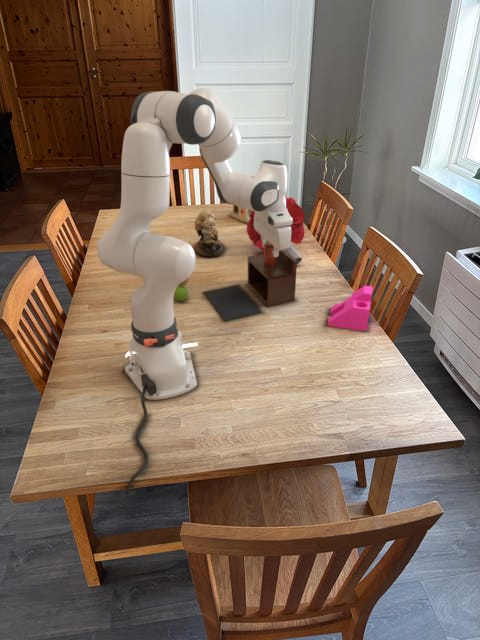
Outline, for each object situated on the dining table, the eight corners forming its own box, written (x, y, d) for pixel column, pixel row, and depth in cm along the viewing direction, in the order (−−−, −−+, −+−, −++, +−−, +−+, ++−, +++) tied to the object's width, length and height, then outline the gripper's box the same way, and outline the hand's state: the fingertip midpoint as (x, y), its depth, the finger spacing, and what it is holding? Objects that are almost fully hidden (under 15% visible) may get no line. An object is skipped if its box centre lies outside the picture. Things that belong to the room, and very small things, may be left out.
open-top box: (294, 300, 169) (297, 261, 161) (268, 306, 166) (269, 266, 158) (272, 279, 182) (273, 241, 174) (247, 284, 179) (247, 246, 171)
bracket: (368, 314, 162) (372, 286, 156) (366, 331, 153) (371, 302, 148) (331, 309, 164) (334, 281, 159) (327, 325, 156) (330, 297, 151)
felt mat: (261, 312, 163) (261, 311, 162) (225, 321, 158) (225, 320, 158) (237, 285, 178) (237, 284, 178) (203, 292, 174) (203, 291, 174)
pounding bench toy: (283, 222, 230) (285, 184, 220) (260, 229, 222) (261, 190, 212) (251, 208, 245) (251, 172, 235) (228, 215, 237) (228, 178, 227)
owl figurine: (227, 258, 198) (226, 217, 188) (197, 260, 196) (195, 219, 187) (220, 240, 213) (219, 201, 203) (193, 242, 211) (191, 203, 202)
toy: (278, 265, 167) (279, 238, 162) (267, 268, 166) (267, 240, 160) (272, 260, 170) (273, 233, 165) (261, 263, 169) (262, 235, 163)
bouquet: (313, 270, 203) (283, 215, 214) (330, 235, 182) (296, 175, 194) (266, 284, 196) (237, 226, 208) (278, 248, 176) (245, 186, 187)
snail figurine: (189, 304, 167) (187, 272, 160) (170, 302, 168) (168, 270, 161) (193, 296, 171) (191, 265, 165) (175, 294, 172) (173, 263, 166)
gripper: (249, 203, 165) (248, 241, 172) (277, 224, 149) (275, 265, 157) (266, 200, 167) (265, 238, 175) (295, 221, 151) (293, 262, 159)
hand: (270, 251), depth 165 cm, fingers open, 6 cm apart
